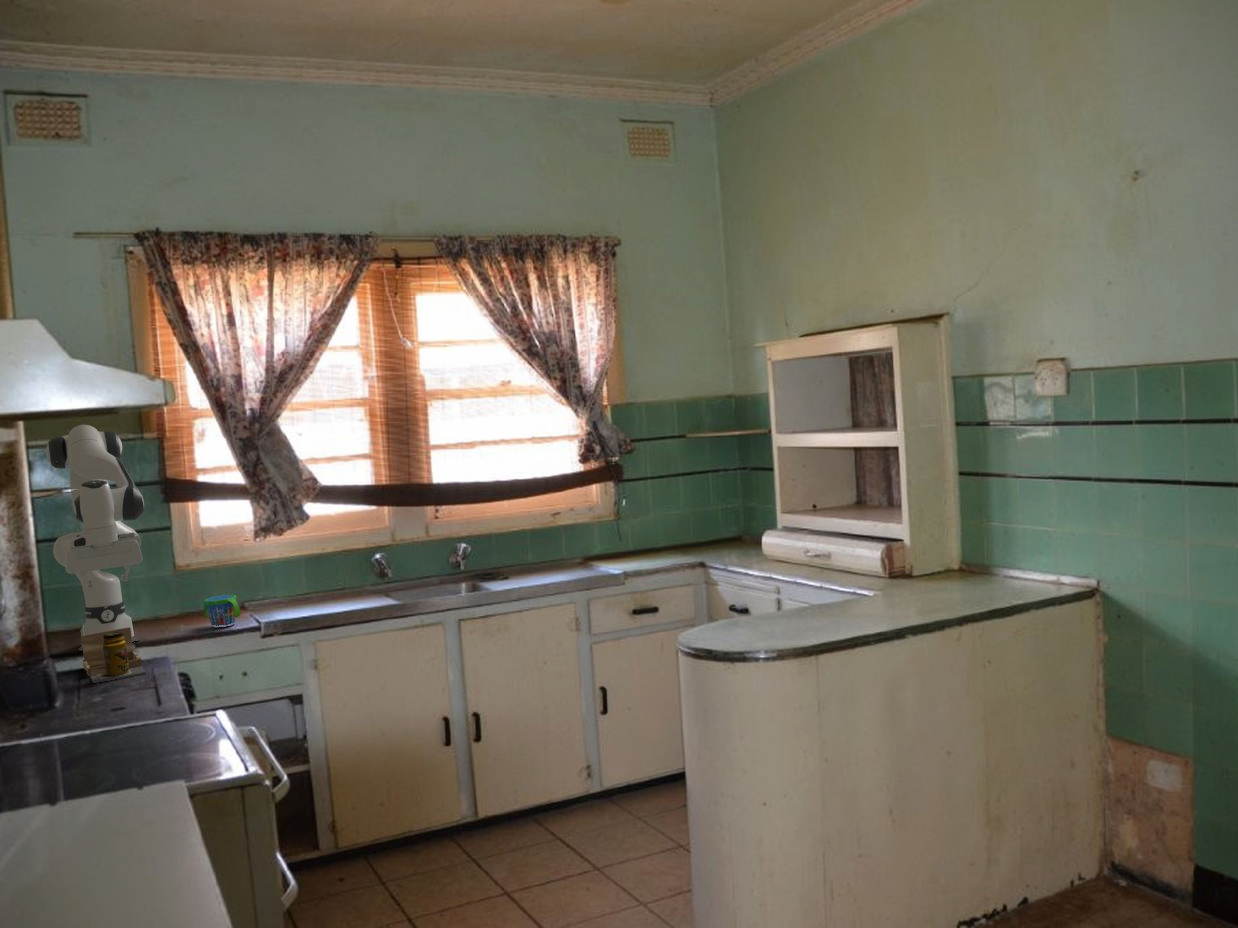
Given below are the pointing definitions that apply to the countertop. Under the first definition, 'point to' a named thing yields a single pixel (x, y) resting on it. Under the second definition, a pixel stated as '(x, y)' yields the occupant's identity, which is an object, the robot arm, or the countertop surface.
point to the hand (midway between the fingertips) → (107, 584)
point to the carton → (96, 653)
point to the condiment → (115, 655)
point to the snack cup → (221, 609)
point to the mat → (134, 671)
